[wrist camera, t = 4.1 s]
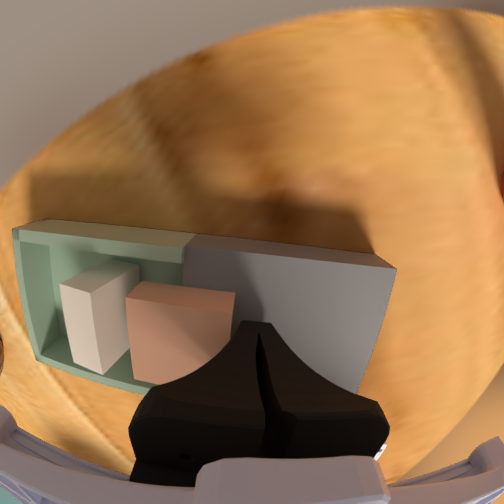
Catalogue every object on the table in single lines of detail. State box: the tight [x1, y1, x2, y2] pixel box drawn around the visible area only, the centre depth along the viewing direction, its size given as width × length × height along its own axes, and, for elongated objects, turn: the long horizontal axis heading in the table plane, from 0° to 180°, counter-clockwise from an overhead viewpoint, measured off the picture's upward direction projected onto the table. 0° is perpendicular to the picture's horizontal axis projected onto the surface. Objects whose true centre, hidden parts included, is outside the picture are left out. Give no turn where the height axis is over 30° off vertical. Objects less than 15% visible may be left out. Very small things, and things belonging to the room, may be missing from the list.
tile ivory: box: [59, 259, 140, 375], centre depth 12 cm, size 4×4×2 cm
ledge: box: [183, 234, 397, 394], centre depth 13 cm, size 8×9×2 cm
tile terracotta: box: [125, 281, 235, 385], centre depth 11 cm, size 4×4×2 cm
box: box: [12, 219, 197, 395], centre depth 13 cm, size 8×10×3 cm
